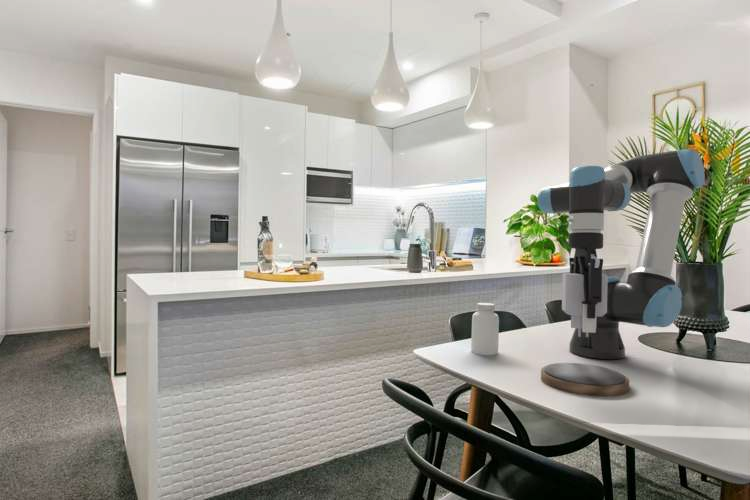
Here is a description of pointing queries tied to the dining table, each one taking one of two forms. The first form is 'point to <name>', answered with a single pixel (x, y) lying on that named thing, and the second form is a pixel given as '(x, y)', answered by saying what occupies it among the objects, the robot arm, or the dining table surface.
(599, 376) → the round mirror
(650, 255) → the robot arm
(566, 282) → the charger
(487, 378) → the dining table surface
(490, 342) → the pill bottle
